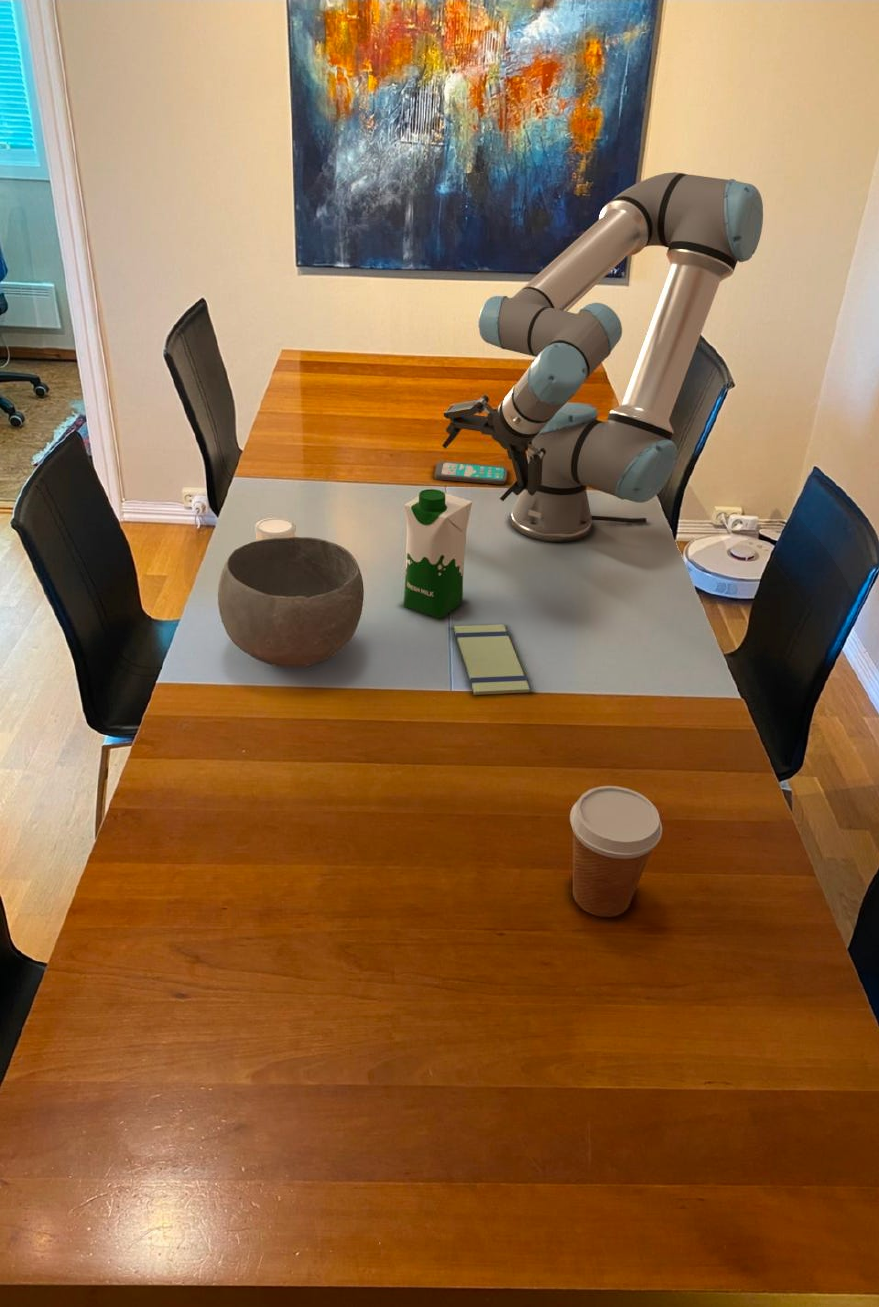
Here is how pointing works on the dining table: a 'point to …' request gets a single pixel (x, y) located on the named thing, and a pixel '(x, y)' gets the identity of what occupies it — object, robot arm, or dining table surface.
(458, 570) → the milk carton
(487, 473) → the smartphone
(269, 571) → the bowl
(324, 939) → the dining table surface
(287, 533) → the beige tapered cylinder
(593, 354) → the robot arm
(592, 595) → the dining table surface
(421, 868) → the dining table surface
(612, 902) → the disposable coffee cup
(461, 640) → the tea towel
